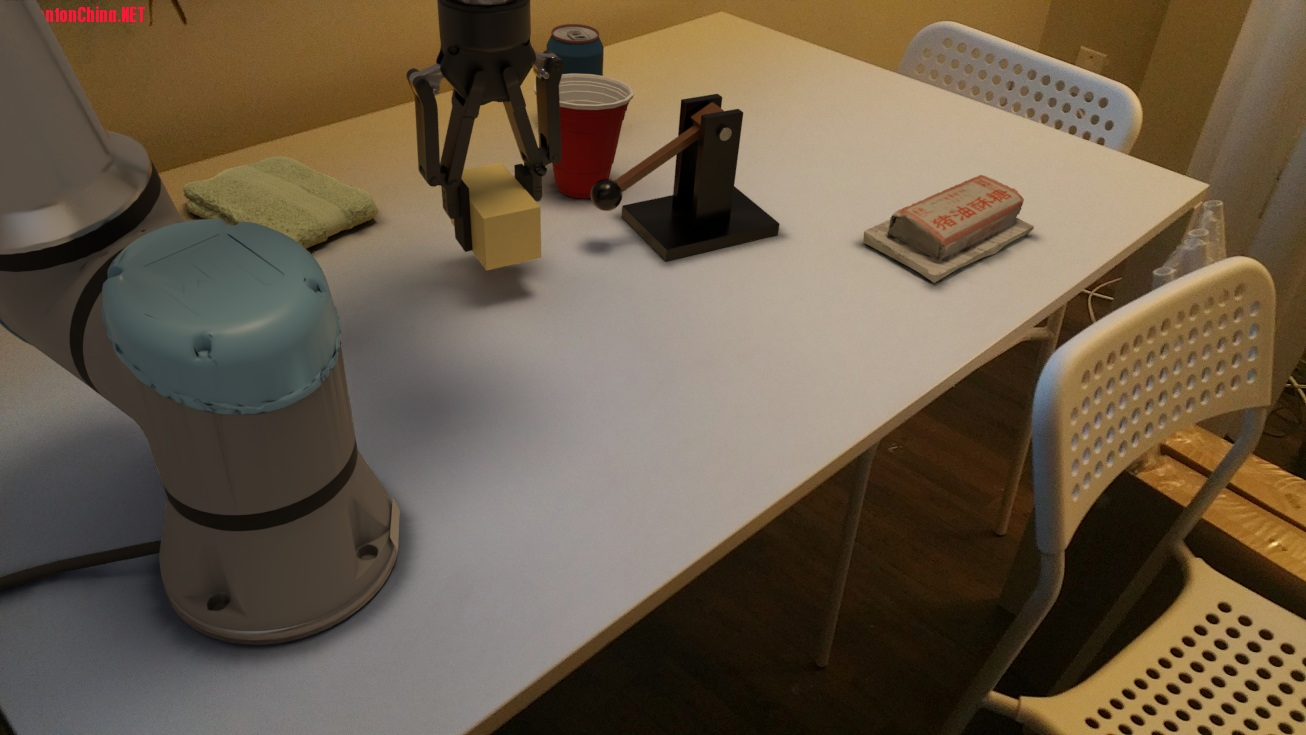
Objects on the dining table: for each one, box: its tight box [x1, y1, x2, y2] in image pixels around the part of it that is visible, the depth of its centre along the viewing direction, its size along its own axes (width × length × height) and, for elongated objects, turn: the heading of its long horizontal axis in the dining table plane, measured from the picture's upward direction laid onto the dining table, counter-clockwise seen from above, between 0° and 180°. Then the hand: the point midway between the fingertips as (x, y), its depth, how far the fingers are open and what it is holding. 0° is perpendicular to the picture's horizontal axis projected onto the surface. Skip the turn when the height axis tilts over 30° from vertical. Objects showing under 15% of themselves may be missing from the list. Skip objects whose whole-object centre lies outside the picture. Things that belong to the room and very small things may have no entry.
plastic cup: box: [533, 73, 635, 199], centre depth 109 cm, size 11×11×12 cm
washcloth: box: [182, 155, 379, 250], centre depth 103 cm, size 13×18×3 cm
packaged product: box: [863, 174, 1035, 284], centre depth 107 cm, size 18×5×10 cm
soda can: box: [546, 23, 605, 76], centre depth 122 cm, size 7×7×12 cm
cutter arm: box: [590, 102, 725, 212], centre depth 99 cm, size 16×3×3 cm, turn 119°
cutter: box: [621, 93, 781, 262], centre depth 103 cm, size 14×10×14 cm
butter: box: [450, 161, 542, 271], centre depth 93 cm, size 6×10×6 cm, turn 29°
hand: (494, 237), depth 94 cm, fingers closed on butter, 5 cm apart
